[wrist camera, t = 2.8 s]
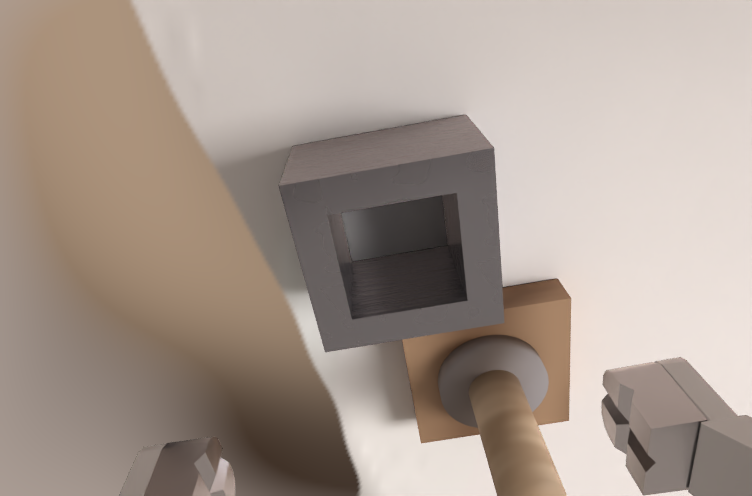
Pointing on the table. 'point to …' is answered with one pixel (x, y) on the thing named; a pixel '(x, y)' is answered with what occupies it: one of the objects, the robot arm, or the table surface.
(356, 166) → the grey square frame
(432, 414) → the post block
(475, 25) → the table surface
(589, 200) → the table surface
